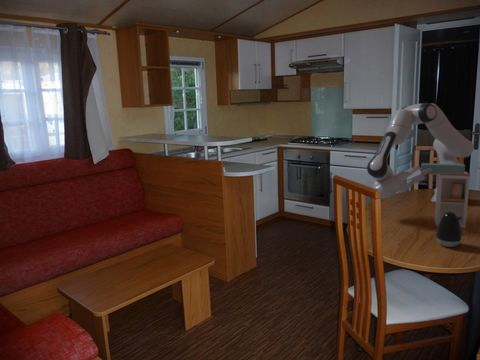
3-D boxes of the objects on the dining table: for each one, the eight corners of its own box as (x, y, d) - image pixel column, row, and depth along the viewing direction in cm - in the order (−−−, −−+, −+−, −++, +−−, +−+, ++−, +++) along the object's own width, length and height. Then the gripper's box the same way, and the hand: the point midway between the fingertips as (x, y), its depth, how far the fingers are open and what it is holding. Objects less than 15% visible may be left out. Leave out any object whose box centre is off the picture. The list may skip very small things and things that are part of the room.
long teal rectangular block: (421, 171, 209) (421, 163, 208) (463, 173, 203) (463, 164, 202) (421, 173, 206) (422, 164, 205) (464, 174, 199) (465, 165, 198)
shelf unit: (434, 220, 214) (438, 169, 209) (462, 222, 210) (467, 170, 204) (436, 225, 206) (439, 173, 200) (465, 227, 202) (470, 173, 196)
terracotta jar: (449, 197, 207) (451, 182, 206) (461, 198, 206) (462, 182, 204) (451, 200, 203) (452, 184, 201) (462, 201, 201) (463, 185, 199)
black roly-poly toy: (451, 251, 175) (453, 217, 172) (430, 243, 184) (432, 211, 181) (466, 246, 179) (469, 213, 176) (445, 239, 188) (447, 207, 185)
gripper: (401, 179, 201) (429, 166, 196) (401, 170, 220) (426, 158, 214) (408, 190, 202) (436, 177, 196) (406, 181, 220) (432, 169, 215)
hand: (430, 167), depth 205 cm, fingers closed on long teal rectangular block, 4 cm apart
